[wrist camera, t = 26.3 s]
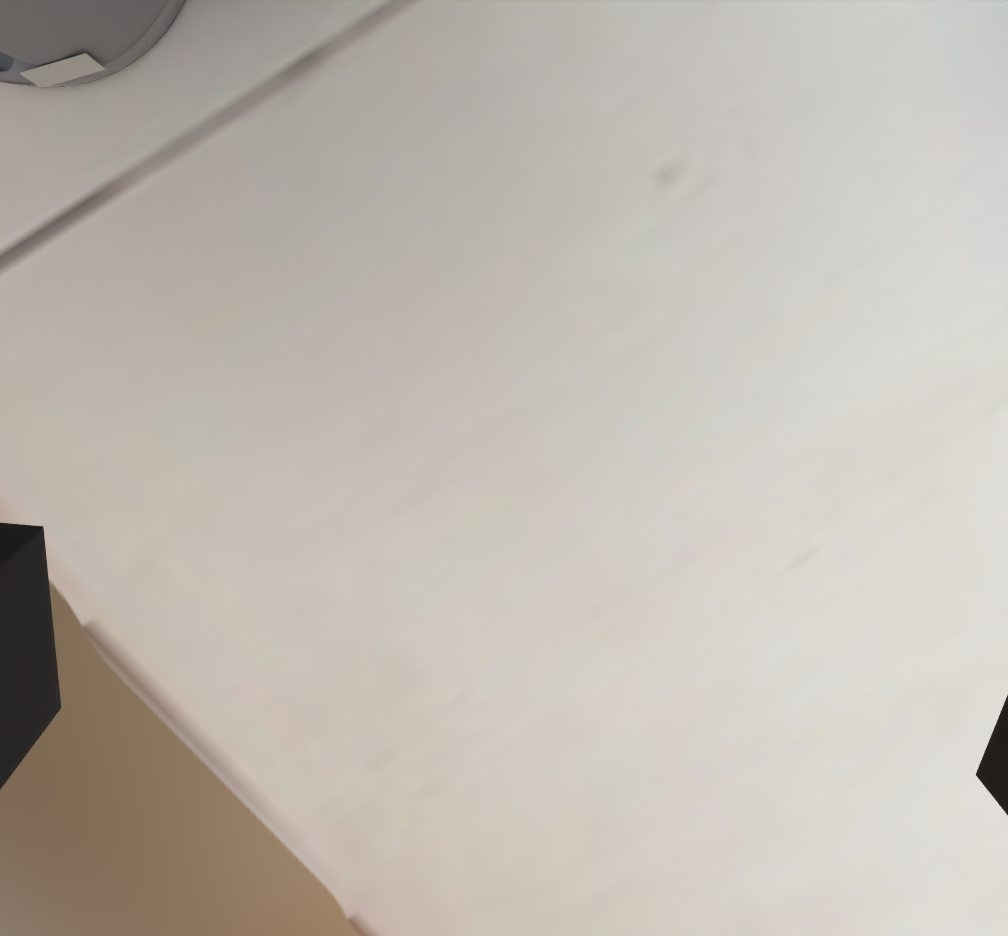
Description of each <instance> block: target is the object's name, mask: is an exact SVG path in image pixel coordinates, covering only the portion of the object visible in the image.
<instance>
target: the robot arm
mask: <svg viewBox="0 0 1008 936" xmlns="http://www.w3.org/2000/svg"><path fill="white" fill-rule="evenodd" d="M184 2H185V0H0V82H6V83H12V84H19V85H27V86H38V87H40V88H45V87H64V86H71V85H78V84H83V83H87V82H91V81H94V80H98V79H100V78H103V77H106V76H108V75H111V74H113V73H115V72H117V71H119V70H121V69H122V68H124V67H126V66H128V65H129V64H131V63H132V62H134V61H135V60H136V59H138V58H139V57H141V56H142V55H143V54H144V53H145V52H146V51H148V50H149V49H150V48H151V47H152V46H153V45H154V44H155V43H156V42H157V41H158V40H159V39H160V38H161V36H162V35H163V34H164V33H165V32H166V31H167V29H168V28H169V26H170V25H171V23H172V22H173V21H174V19H175V18H176V16H177V14H178V12H179V11H180V9H181V7H182V5H183V3H184ZM54 641H55V640H54V630H53V620H52V611H51V600H50V590H49V580H48V569H47V559H46V549H45V539H44V529H43V526H31V525H20V524H8V523H0V789H1V788H2V786H3V785H4V784H5V782H6V781H7V780H8V778H9V777H10V776H11V774H12V773H13V772H14V770H15V769H16V768H17V766H18V765H19V764H20V762H21V761H22V760H23V758H24V757H25V756H26V754H27V753H28V752H29V750H30V749H31V748H32V746H33V745H34V744H35V742H36V741H37V740H38V738H39V737H40V736H41V734H42V733H43V731H44V730H45V729H46V727H47V726H48V725H49V723H50V722H51V721H52V719H53V718H54V717H55V715H56V714H57V713H58V711H59V710H60V708H61V701H60V691H59V681H58V671H57V661H56V652H55V642H54ZM976 776H977V777H978V778H979V780H980V781H981V782H982V783H983V785H984V786H985V787H986V788H987V790H988V791H989V792H990V793H991V795H992V796H993V797H994V798H995V800H996V801H997V802H998V804H999V805H1000V806H1001V807H1002V809H1003V810H1004V811H1005V812H1006V814H1007V815H1008V696H1007V698H1006V701H1005V703H1004V706H1003V708H1002V711H1001V713H1000V715H999V718H998V720H997V723H996V725H995V728H994V730H993V733H992V735H991V738H990V740H989V743H988V745H987V748H986V750H985V753H984V755H983V758H982V760H981V763H980V765H979V768H978V770H977V773H976Z"/></svg>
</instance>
